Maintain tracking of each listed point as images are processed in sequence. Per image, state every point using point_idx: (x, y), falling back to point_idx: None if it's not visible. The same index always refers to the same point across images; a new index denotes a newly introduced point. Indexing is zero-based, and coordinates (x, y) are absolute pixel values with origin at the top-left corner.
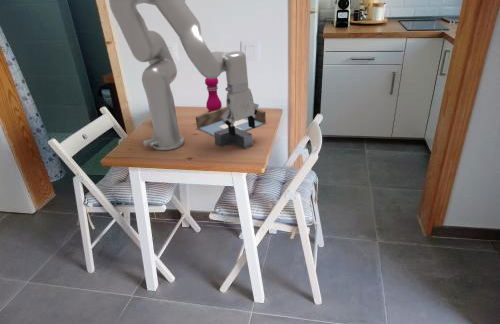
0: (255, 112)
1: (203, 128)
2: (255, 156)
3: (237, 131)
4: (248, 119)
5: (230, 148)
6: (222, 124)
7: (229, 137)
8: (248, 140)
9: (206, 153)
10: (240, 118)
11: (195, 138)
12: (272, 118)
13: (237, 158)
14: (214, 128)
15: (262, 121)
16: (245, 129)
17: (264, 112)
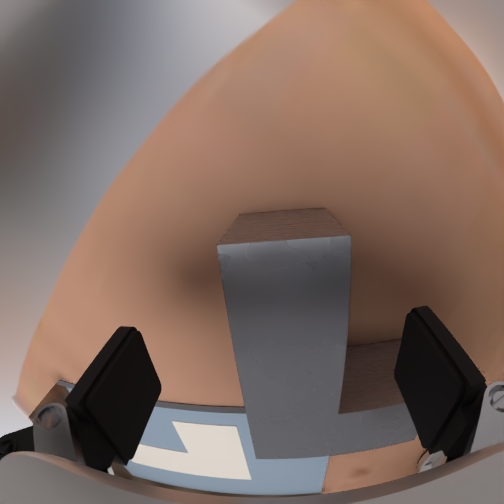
0: (19, 446)
1: (310, 488)
2: (330, 54)
3: (296, 388)
4: (135, 441)
5: (385, 289)
6: (226, 480)
7: (346, 378)
8: (279, 224)
9: (488, 315)
10: (453, 492)
11: (390, 452)
12: (33, 385)
13: (440, 127)
14: (277, 478)
15: (63, 395)
16: (158, 410)
17: (33, 417)
